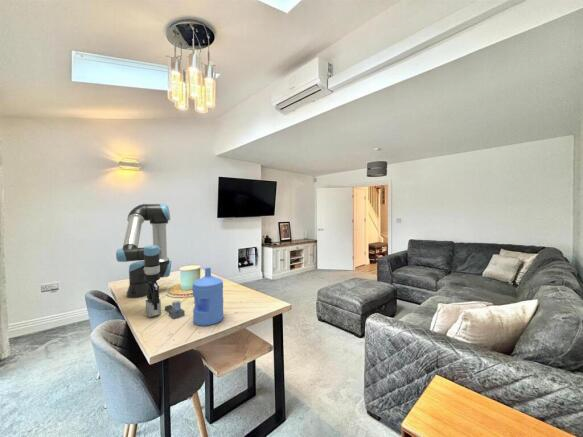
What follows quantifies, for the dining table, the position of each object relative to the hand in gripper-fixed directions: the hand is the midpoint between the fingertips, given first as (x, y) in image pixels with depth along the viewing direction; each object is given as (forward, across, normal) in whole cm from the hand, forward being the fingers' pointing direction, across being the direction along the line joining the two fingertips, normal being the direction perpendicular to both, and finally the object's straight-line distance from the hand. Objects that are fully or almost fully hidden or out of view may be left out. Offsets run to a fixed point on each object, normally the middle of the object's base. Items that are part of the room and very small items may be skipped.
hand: (153, 313), depth 137 cm
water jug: (+1, +28, +19) cm, 34 cm away
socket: (0, 0, 0) cm, 0 cm away
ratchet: (+1, +5, +9) cm, 10 cm away
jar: (+2, -1, +29) cm, 29 cm away
